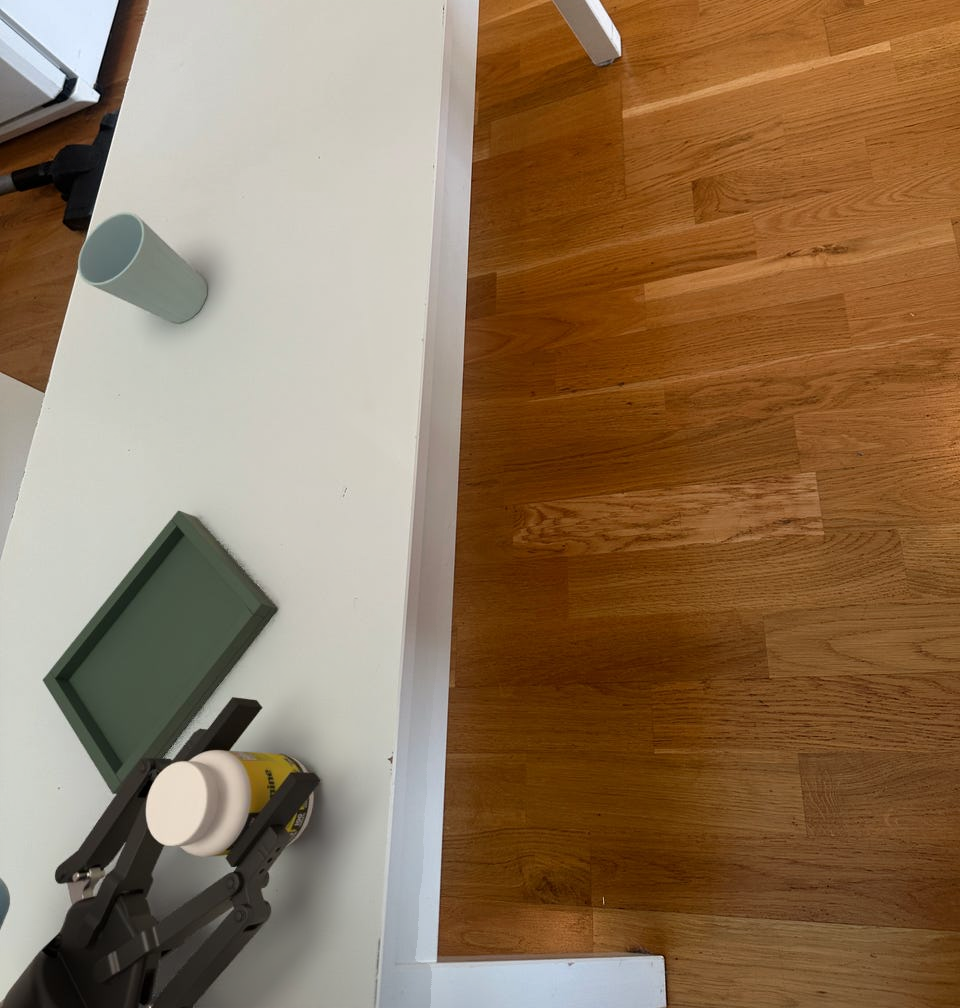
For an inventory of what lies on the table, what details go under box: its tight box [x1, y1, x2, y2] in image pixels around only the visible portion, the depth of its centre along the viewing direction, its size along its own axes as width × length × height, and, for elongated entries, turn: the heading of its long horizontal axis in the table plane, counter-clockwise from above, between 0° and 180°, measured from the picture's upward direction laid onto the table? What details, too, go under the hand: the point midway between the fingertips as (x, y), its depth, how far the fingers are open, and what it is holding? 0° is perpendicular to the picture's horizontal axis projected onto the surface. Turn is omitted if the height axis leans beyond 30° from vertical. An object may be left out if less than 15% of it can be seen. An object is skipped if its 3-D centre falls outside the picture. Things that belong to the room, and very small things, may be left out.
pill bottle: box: [146, 750, 315, 858], centre depth 58 cm, size 6×6×11 cm
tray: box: [42, 509, 279, 795], centre depth 72 cm, size 18×13×2 cm
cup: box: [77, 211, 208, 324], centre depth 85 cm, size 8×8×10 cm
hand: (275, 738), depth 58 cm, fingers closed on pill bottle, 6 cm apart
